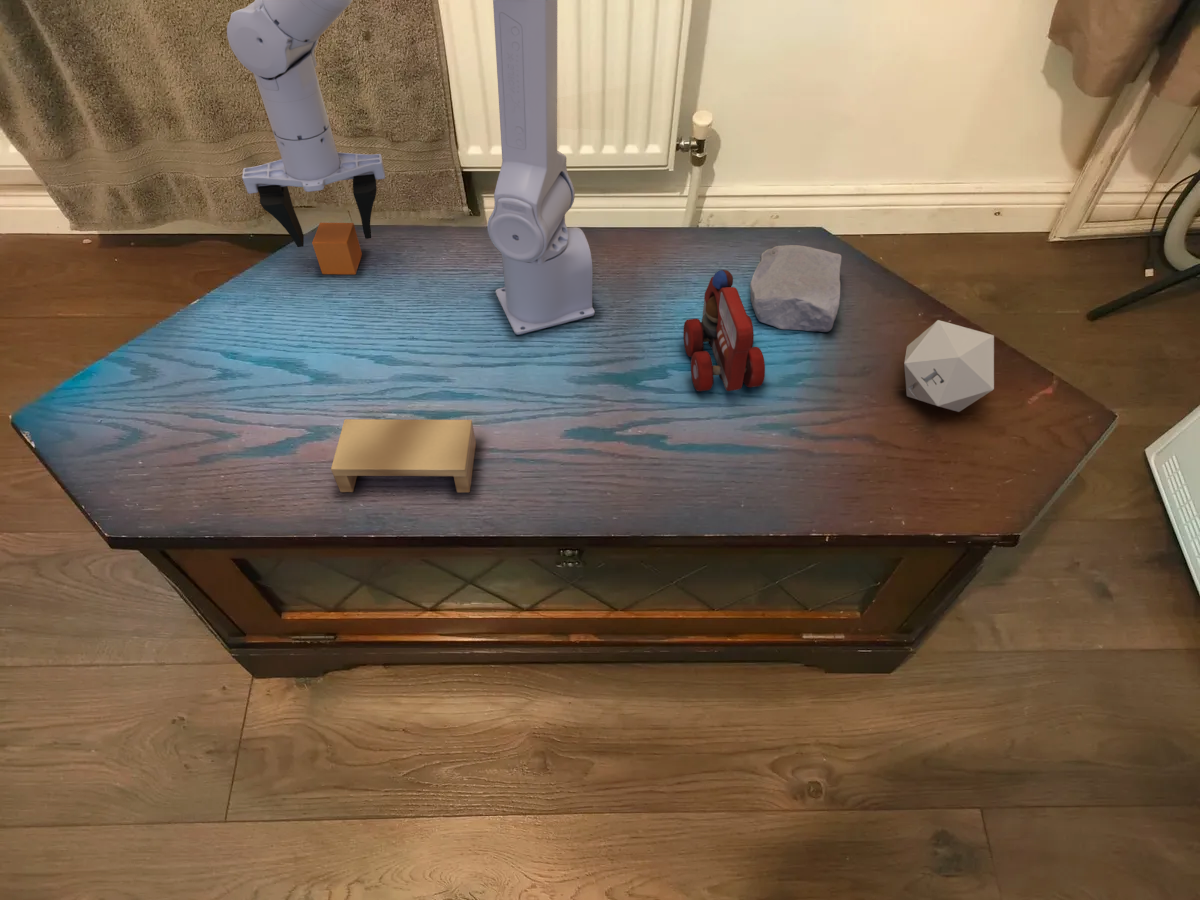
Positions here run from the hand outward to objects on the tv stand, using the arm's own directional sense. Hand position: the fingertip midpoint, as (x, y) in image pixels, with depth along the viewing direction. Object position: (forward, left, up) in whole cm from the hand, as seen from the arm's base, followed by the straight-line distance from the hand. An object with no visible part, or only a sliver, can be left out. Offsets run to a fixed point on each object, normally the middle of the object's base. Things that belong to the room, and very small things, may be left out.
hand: (334, 237), depth 90 cm
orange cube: (0, 0, -4) cm, 4 cm away
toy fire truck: (-35, +32, -4) cm, 47 cm away
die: (-54, +44, -4) cm, 69 cm away
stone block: (-48, +25, -4) cm, 54 cm away
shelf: (-1, +34, -4) cm, 34 cm away
